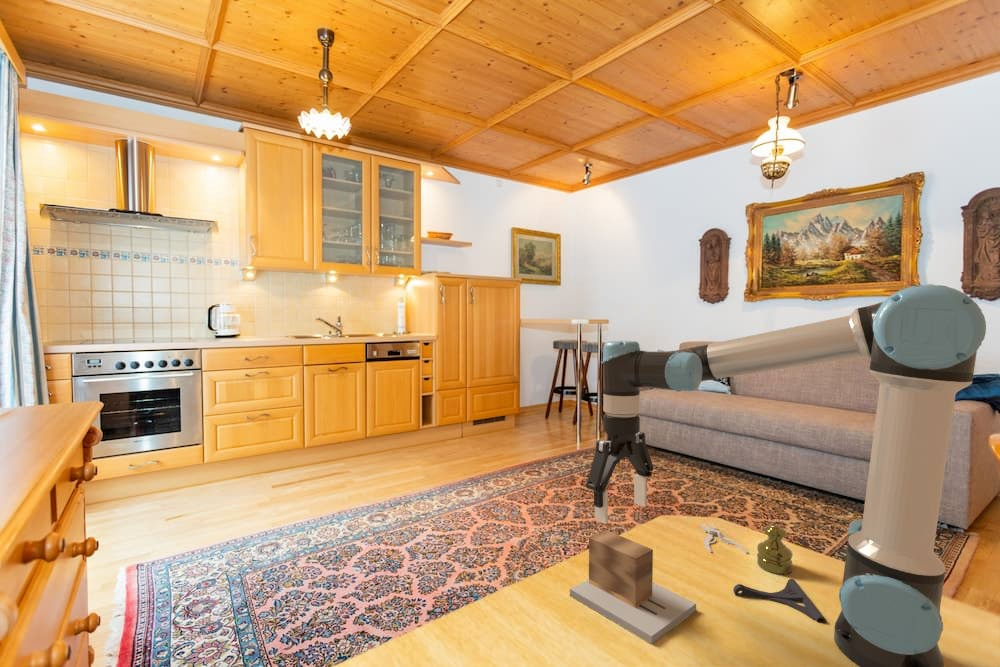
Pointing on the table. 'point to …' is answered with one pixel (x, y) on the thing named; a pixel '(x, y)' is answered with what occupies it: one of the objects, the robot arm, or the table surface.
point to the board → (638, 610)
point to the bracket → (784, 598)
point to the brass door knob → (774, 551)
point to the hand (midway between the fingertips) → (621, 513)
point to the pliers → (715, 532)
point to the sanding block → (621, 567)
